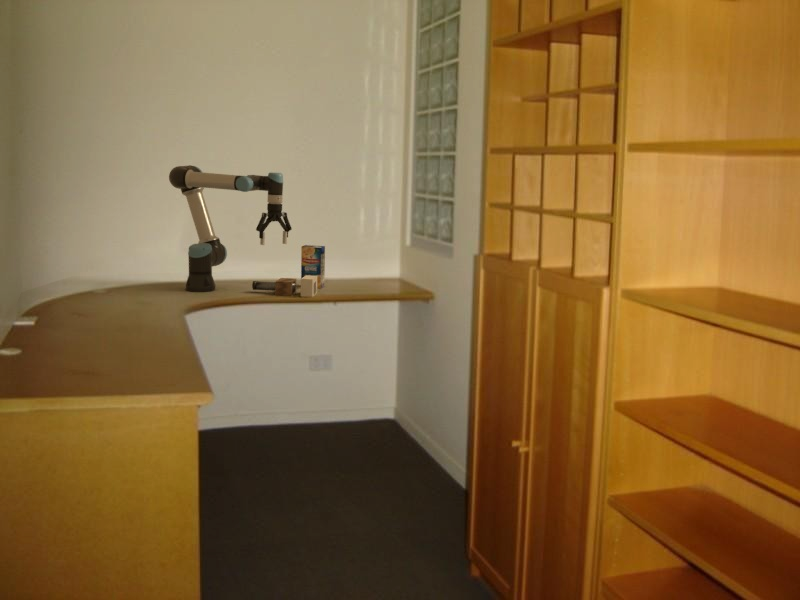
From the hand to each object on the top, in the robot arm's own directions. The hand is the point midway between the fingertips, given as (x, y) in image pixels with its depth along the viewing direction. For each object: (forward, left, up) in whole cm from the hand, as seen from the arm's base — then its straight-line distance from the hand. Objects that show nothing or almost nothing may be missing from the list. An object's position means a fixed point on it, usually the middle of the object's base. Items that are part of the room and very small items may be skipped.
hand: (273, 244), depth 471 cm
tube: (+2, -8, -23) cm, 24 cm away
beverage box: (+17, +16, -24) cm, 34 cm away
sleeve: (+8, -8, -24) cm, 27 cm away
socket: (+20, -8, -24) cm, 33 cm away
